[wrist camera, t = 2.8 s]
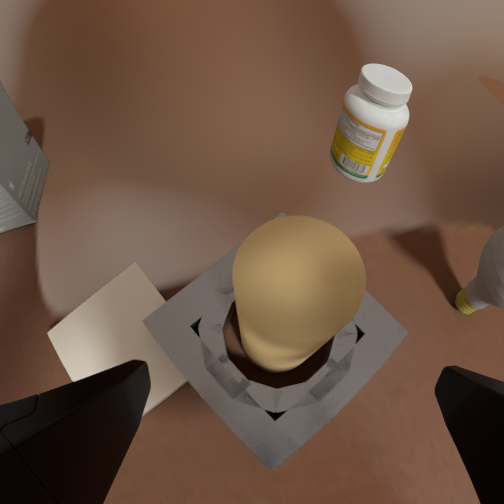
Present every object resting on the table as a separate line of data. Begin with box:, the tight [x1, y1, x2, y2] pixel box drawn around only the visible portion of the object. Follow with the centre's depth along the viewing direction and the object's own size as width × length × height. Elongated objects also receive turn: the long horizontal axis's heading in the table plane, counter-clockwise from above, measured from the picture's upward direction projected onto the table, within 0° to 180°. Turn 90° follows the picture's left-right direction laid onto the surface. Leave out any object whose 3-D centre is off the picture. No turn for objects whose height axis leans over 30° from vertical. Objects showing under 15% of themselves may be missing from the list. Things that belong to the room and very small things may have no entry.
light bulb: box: [455, 226, 504, 315], centre depth 17 cm, size 5×6×10 cm
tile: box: [47, 261, 188, 416], centre depth 20 cm, size 9×9×1 cm
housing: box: [142, 212, 408, 471], centre depth 20 cm, size 12×12×2 cm
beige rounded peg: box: [232, 216, 366, 373], centre depth 16 cm, size 5×5×11 cm
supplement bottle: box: [330, 64, 412, 183], centre depth 23 cm, size 5×5×10 cm
